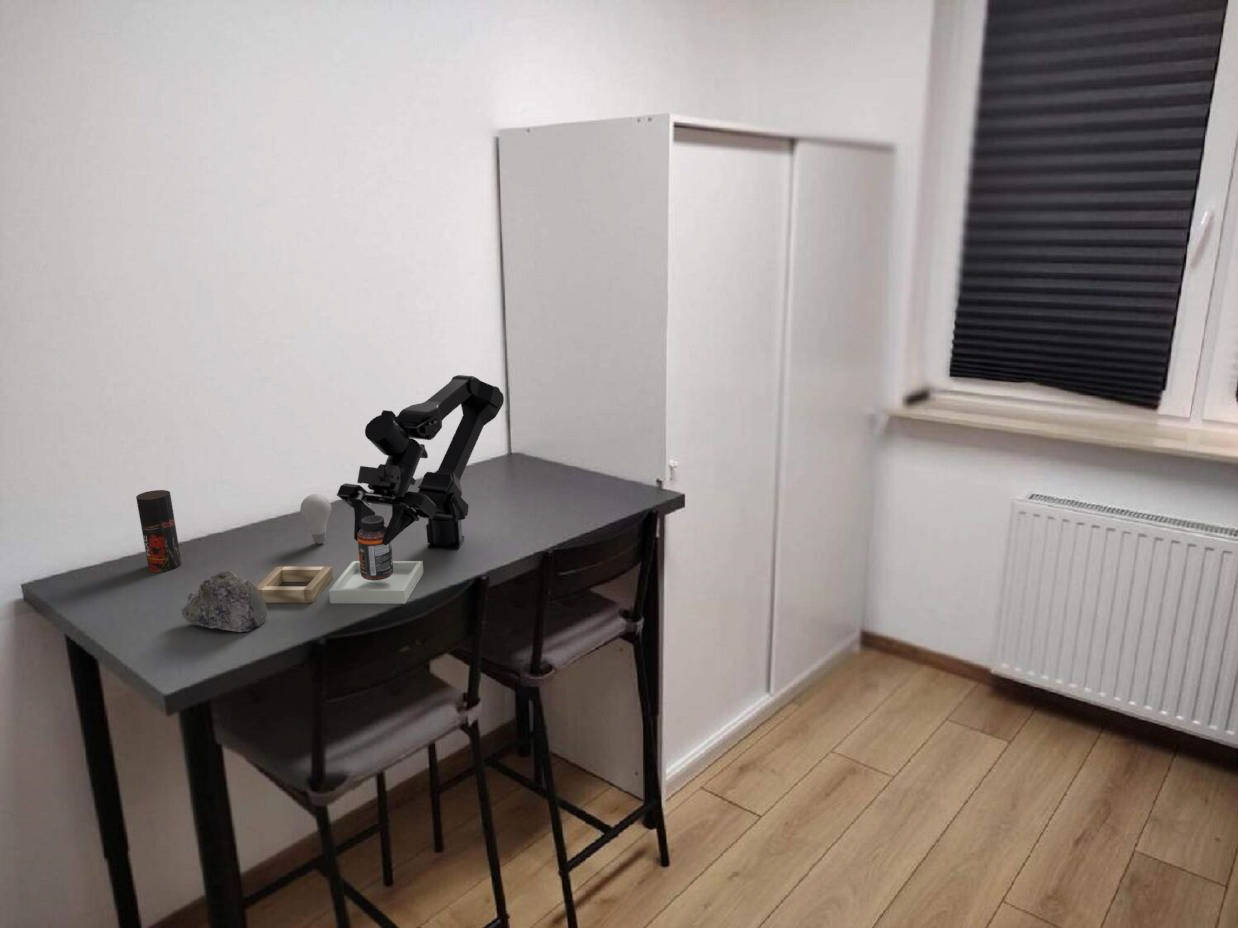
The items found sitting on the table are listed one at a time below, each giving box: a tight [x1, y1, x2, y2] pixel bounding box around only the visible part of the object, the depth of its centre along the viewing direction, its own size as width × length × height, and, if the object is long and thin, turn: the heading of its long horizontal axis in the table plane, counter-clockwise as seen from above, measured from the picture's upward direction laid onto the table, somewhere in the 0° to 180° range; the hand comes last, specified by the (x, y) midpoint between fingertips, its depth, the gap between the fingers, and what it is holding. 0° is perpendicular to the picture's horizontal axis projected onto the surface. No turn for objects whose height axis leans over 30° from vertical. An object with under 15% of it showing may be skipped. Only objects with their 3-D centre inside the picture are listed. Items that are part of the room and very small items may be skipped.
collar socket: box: [256, 566, 334, 604], centre depth 166 cm, size 11×11×2 cm
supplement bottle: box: [357, 514, 394, 581], centre depth 165 cm, size 6×6×11 cm
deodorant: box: [135, 489, 182, 573], centre depth 176 cm, size 6×6×15 cm
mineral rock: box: [180, 570, 268, 633], centre depth 152 cm, size 13×11×10 cm
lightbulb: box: [300, 493, 332, 545], centre depth 187 cm, size 6×6×11 cm
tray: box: [328, 560, 424, 605], centre depth 166 cm, size 14×14×2 cm
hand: (370, 542), depth 163 cm, fingers closed on supplement bottle, 6 cm apart
